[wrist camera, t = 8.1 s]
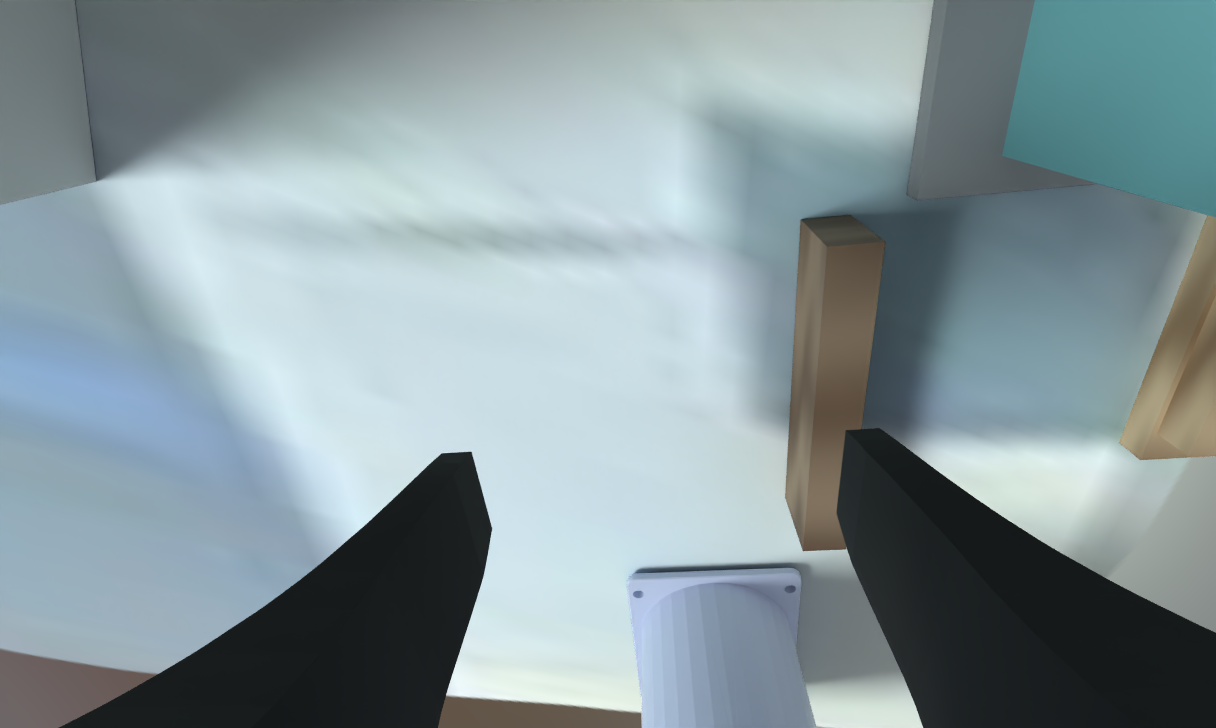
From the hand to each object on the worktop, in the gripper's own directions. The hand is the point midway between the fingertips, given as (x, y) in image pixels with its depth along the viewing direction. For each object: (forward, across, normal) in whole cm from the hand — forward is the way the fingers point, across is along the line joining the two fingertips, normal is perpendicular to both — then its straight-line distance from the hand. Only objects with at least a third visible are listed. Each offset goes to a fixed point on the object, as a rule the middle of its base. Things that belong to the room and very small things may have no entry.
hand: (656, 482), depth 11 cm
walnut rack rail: (+10, -6, +4) cm, 13 cm away
